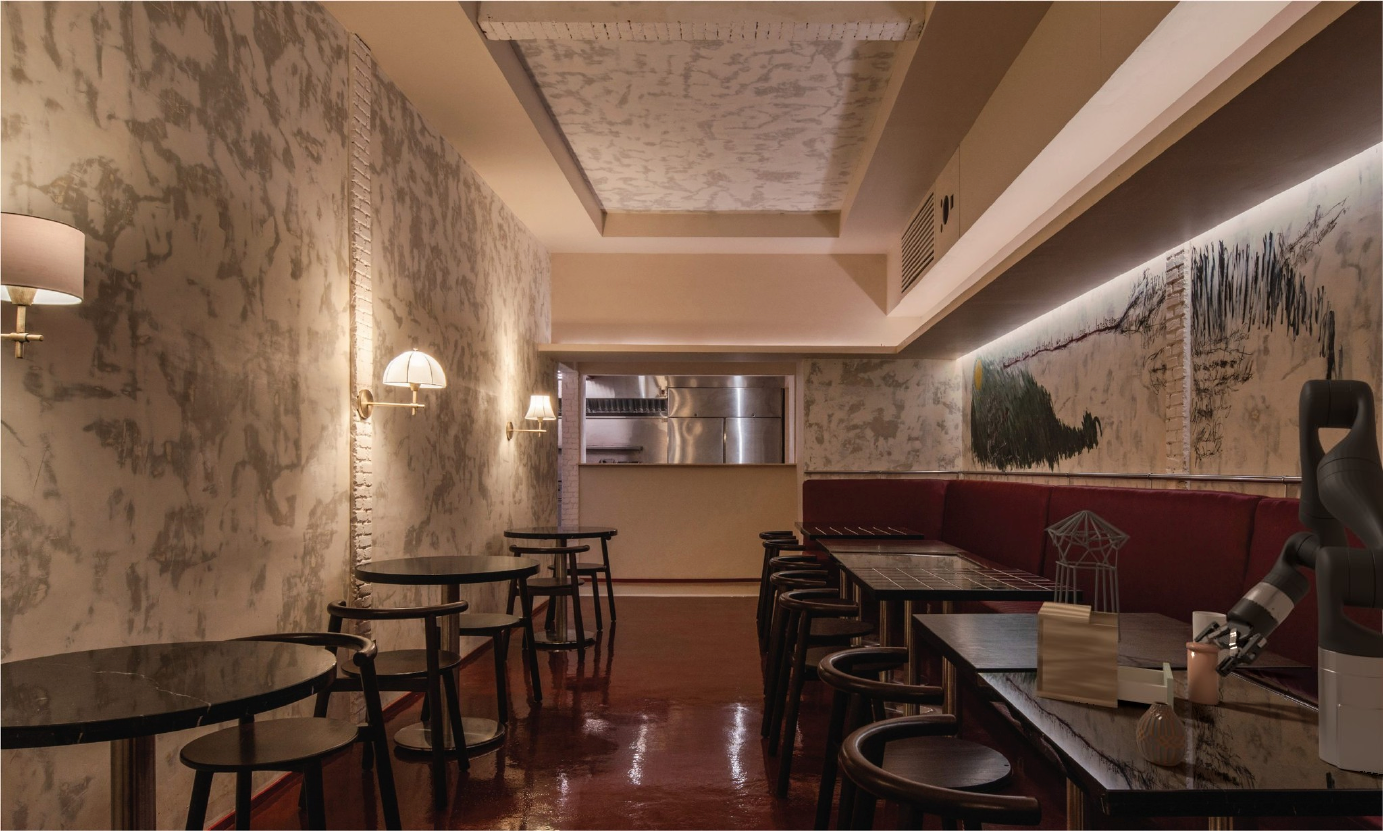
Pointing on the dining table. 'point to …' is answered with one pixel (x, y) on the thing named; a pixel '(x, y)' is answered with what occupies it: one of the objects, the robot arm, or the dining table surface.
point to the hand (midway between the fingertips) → (1204, 668)
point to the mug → (1203, 621)
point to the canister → (1202, 673)
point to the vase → (1162, 735)
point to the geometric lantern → (1103, 524)
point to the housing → (1077, 654)
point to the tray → (1145, 684)
